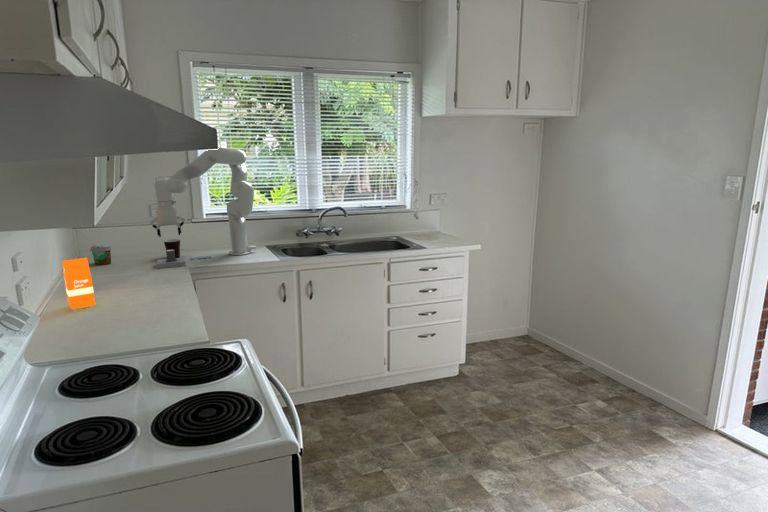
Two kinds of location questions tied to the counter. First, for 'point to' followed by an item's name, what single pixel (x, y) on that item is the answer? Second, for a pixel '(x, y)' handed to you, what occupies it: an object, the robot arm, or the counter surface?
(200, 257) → the phone
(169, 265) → the outlet plate
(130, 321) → the counter surface
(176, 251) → the coffee mug
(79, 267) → the orange juice
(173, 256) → the charger
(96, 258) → the food container
